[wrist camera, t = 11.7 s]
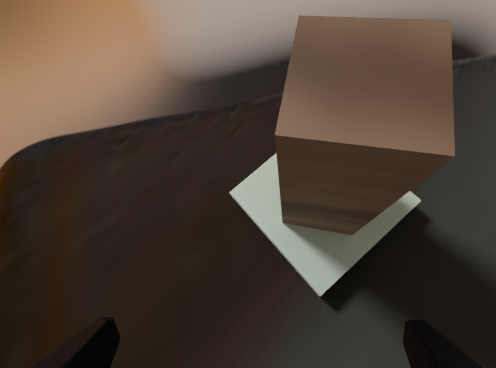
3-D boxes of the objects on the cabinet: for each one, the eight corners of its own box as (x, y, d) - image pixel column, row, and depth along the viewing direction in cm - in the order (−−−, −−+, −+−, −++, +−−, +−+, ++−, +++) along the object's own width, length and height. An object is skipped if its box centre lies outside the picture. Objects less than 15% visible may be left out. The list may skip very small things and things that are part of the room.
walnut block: (352, 235, 20) (454, 156, 8) (282, 222, 21) (274, 135, 9) (357, 171, 21) (451, 20, 9) (292, 162, 22) (298, 15, 10)
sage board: (412, 206, 21) (421, 200, 20) (317, 295, 20) (320, 296, 19) (318, 125, 25) (320, 116, 23) (232, 198, 23) (229, 192, 22)
